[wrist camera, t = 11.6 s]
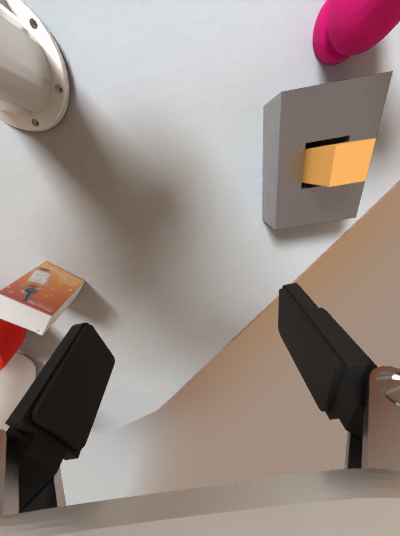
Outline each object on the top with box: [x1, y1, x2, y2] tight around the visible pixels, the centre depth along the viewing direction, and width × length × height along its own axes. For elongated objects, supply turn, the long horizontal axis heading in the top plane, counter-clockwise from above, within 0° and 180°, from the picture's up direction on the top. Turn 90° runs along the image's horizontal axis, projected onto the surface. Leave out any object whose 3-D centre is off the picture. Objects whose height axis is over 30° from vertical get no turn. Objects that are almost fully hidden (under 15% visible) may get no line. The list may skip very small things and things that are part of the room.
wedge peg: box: [302, 138, 376, 187], centre depth 25 cm, size 4×4×11 cm
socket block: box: [262, 71, 393, 230], centre depth 27 cm, size 16×12×6 cm
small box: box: [0, 261, 85, 335], centre depth 34 cm, size 8×6×10 cm
